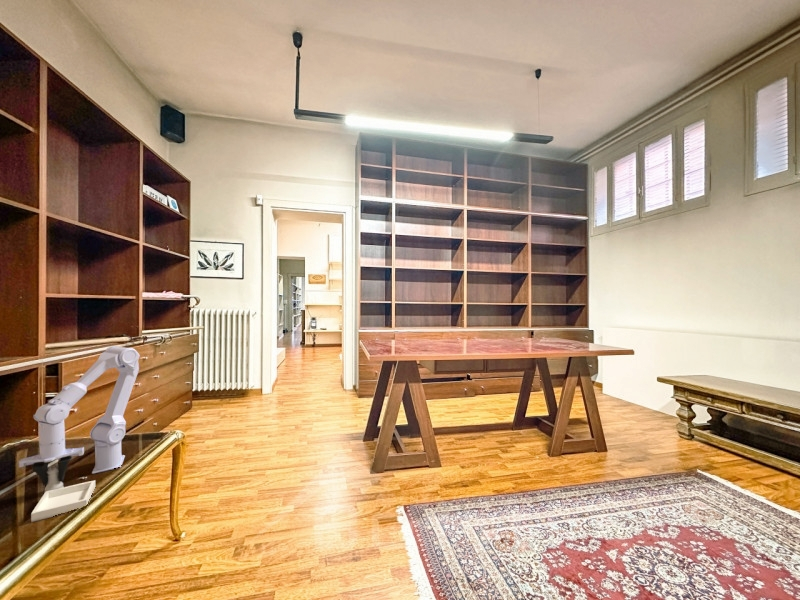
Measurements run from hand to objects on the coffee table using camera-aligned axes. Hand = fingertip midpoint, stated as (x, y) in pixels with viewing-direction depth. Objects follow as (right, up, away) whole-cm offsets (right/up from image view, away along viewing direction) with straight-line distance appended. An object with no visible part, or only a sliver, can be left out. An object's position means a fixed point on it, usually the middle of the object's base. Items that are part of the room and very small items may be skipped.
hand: (53, 481), depth 107 cm
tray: (+10, -4, -5) cm, 12 cm away
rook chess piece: (0, -3, 0) cm, 3 cm away
